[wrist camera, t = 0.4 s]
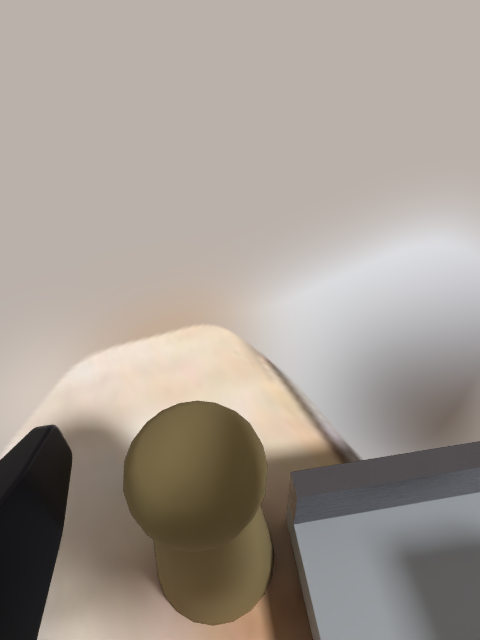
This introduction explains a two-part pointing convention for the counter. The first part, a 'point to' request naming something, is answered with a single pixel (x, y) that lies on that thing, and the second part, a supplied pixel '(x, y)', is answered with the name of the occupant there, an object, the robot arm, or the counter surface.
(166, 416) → the olive pawn
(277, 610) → the counter surface
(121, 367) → the counter surface
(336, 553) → the shelf
